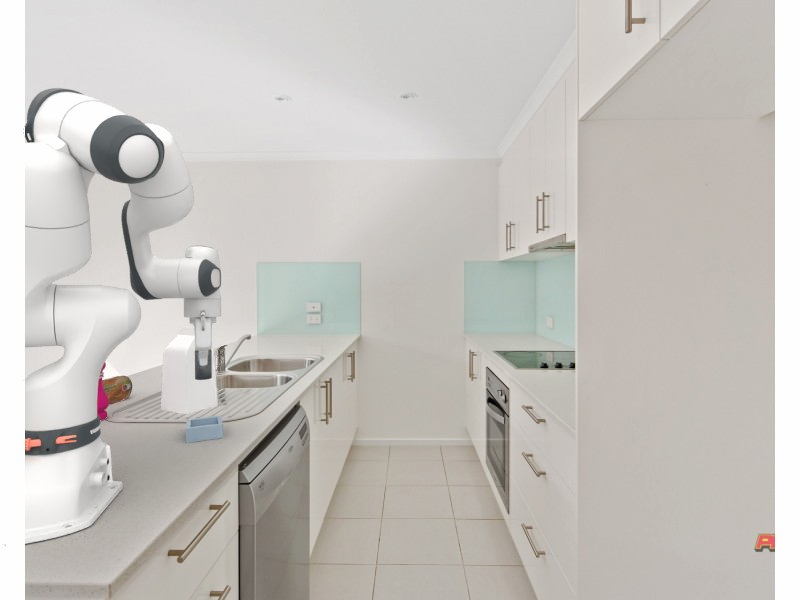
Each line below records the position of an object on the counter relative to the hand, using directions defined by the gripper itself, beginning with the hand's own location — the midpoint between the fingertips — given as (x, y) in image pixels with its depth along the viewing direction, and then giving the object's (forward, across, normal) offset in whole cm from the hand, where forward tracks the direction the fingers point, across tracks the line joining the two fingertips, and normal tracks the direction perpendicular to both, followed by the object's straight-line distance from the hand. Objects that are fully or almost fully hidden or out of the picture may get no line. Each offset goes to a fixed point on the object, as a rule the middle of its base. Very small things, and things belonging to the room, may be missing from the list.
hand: (203, 363), depth 115 cm
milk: (+19, +31, +4) cm, 37 cm away
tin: (+19, +48, +28) cm, 59 cm away
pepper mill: (+19, +28, +29) cm, 45 cm away
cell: (+4, 0, 0) cm, 4 cm away
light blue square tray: (+19, 0, 0) cm, 19 cm away
